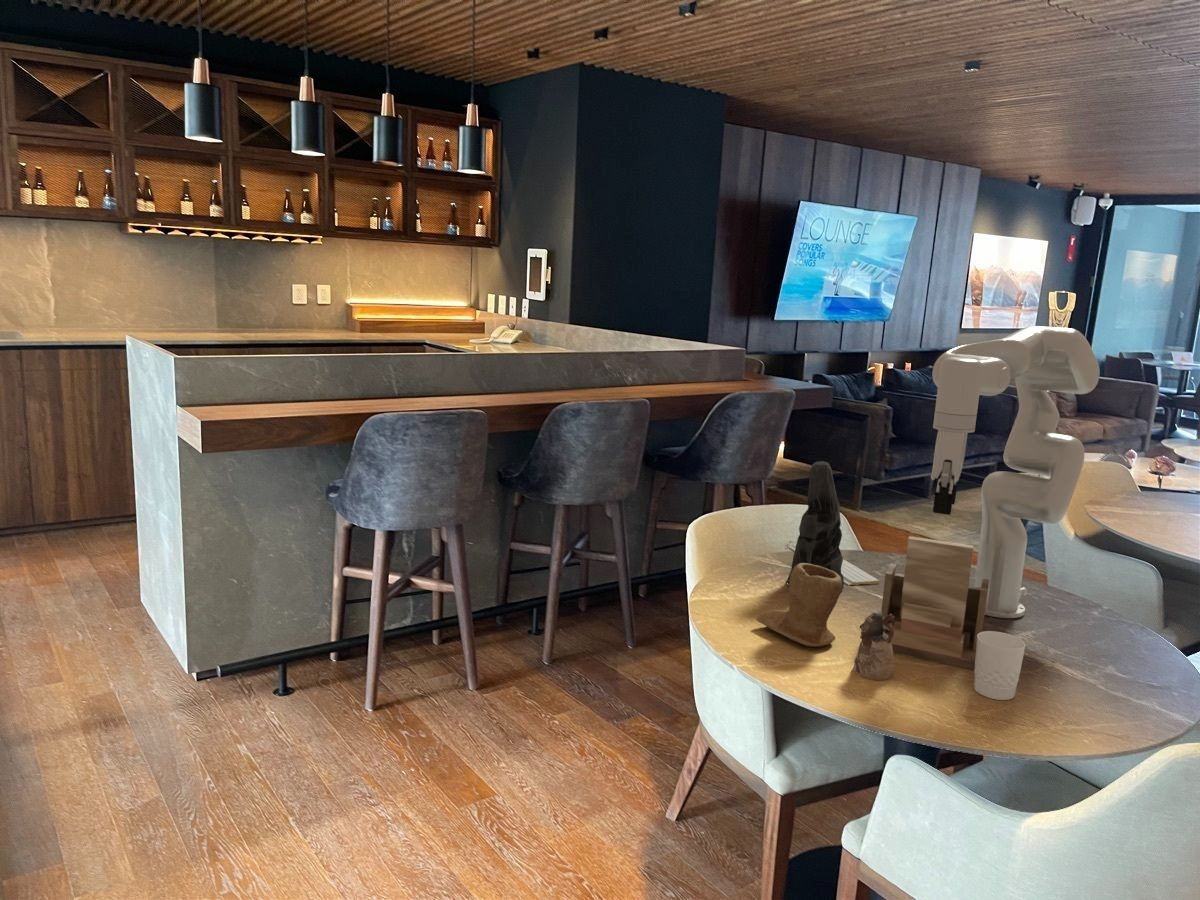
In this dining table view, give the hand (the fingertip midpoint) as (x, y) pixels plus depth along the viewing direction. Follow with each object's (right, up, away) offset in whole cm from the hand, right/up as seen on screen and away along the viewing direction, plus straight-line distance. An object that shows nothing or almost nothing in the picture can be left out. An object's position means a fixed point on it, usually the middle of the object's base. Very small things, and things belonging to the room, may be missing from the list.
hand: (943, 508), depth 173 cm
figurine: (-17, -30, -8) cm, 35 cm away
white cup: (+3, -32, -14) cm, 36 cm away
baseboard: (-9, -19, +54) cm, 58 cm away
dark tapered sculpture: (-16, -21, +38) cm, 47 cm away
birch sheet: (-1, -26, +5) cm, 27 cm away
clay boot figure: (-26, -27, +8) cm, 38 cm away
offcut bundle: (-3, -27, +1) cm, 28 cm away
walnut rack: (-2, -28, +4) cm, 29 cm away
